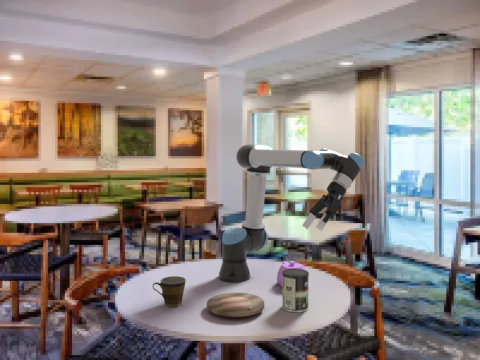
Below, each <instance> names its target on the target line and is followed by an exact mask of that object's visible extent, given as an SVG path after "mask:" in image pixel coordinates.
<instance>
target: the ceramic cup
mask: <svg viewBox="0 0 480 360" xmlns="http://www.w3.org/2000/svg"><path fill="white" fill-rule="evenodd" d="M155 285H158V286H159V287H160V289H161V291H162V292H160V291H159V290H158V289H156V288H155V287H154V286H155ZM151 287H152V290H154V291H156V293H158V294H159V295H161V297H162V298H163V301H164V306H165V307H166V306H167V307H166V308H170V307H172V308H178V307H180V306H182V304H183V297H184V291H185V287H186V278H185V277H183V276H166V277H163V278H161V279H160V281H159V282H153V284H152V286H151Z"/></svg>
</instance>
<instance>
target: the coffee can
mask: <svg viewBox="0 0 480 360" xmlns="http://www.w3.org/2000/svg"><path fill="white" fill-rule="evenodd" d="M309 275H310V272H309V271H308V270H302V269H286V270H283V271H282V286H281V287H282V288H281V290H282V305H281V306H282V307H281V308H282V309H283V310H284V311H286V312H290V313H303V312H304V313H305V312H307V311H308V310H309Z"/></svg>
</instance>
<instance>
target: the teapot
mask: <svg viewBox="0 0 480 360" xmlns="http://www.w3.org/2000/svg"><path fill="white" fill-rule="evenodd" d="M286 269H302V270H305V267H304V265H303V264H300V263H298V262H296V261H294V260H290V261H282V264H281V265H280V267H279V269H278V271H277V276H276V282H277V283H278V285H279V286H280V287H282V271H283V270H286Z"/></svg>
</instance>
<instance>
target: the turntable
mask: <svg viewBox="0 0 480 360" xmlns="http://www.w3.org/2000/svg"><path fill="white" fill-rule="evenodd" d="M206 309H207V311H209V312H211V313H212V314H214V315H217V316H220V317H227V318H244V317H248V316H249V317H250V316H253V315H256V314H258V313H261V312H262V311H263V310H264V309H265V301H264V299H263V298H262V297H260V296H258V295H255V294H251V293H246V292H225V293H219V294H216V295H213V296H211V297H210V298H208V299H207V301H206Z"/></svg>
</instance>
